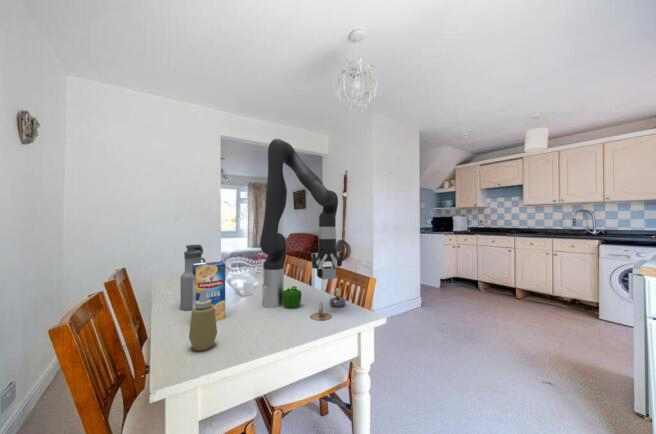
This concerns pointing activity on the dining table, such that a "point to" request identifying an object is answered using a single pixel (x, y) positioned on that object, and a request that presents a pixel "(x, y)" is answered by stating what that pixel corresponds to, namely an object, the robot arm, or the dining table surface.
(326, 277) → the grey small box
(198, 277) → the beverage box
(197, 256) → the water bottle
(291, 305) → the bell pepper
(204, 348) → the squeeze bottle
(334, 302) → the hub
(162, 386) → the dining table surface
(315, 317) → the stand
